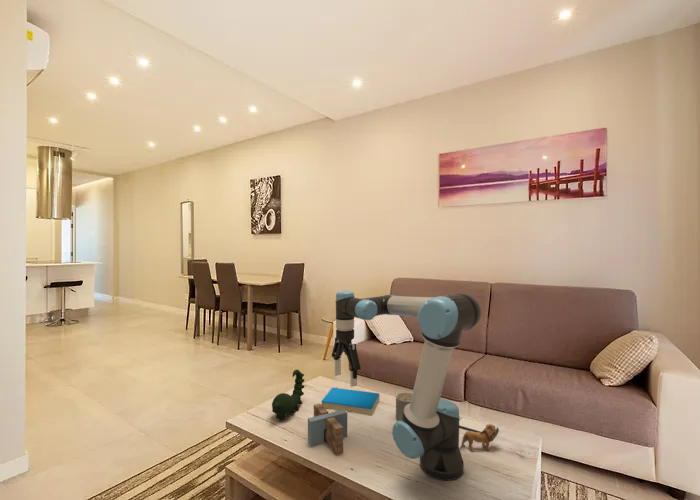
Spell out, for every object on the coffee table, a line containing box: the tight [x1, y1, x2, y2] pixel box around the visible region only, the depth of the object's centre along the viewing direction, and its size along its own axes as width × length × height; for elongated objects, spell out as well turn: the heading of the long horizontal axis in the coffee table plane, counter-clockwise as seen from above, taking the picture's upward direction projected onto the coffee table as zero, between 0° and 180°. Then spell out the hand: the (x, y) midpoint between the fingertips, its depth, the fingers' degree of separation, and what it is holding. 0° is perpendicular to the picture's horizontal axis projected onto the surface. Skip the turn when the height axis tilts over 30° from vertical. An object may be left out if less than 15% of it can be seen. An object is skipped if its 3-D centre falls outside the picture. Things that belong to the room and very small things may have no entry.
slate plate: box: [307, 409, 348, 448], centre depth 143 cm, size 16×3×10 cm, turn 118°
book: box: [321, 387, 380, 416], centre depth 174 cm, size 17×4×25 cm
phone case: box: [459, 417, 499, 437], centre depth 152 cm, size 9×2×16 cm
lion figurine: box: [459, 423, 497, 452], centre depth 137 cm, size 15×5×9 cm, turn 99°
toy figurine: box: [271, 369, 306, 422], centre depth 164 cm, size 9×19×25 cm
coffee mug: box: [395, 391, 413, 422], centre depth 161 cm, size 13×10×10 cm
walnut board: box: [313, 403, 344, 456], centre depth 143 cm, size 22×3×10 cm, turn 28°
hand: (345, 380), depth 146 cm, fingers open, 13 cm apart
